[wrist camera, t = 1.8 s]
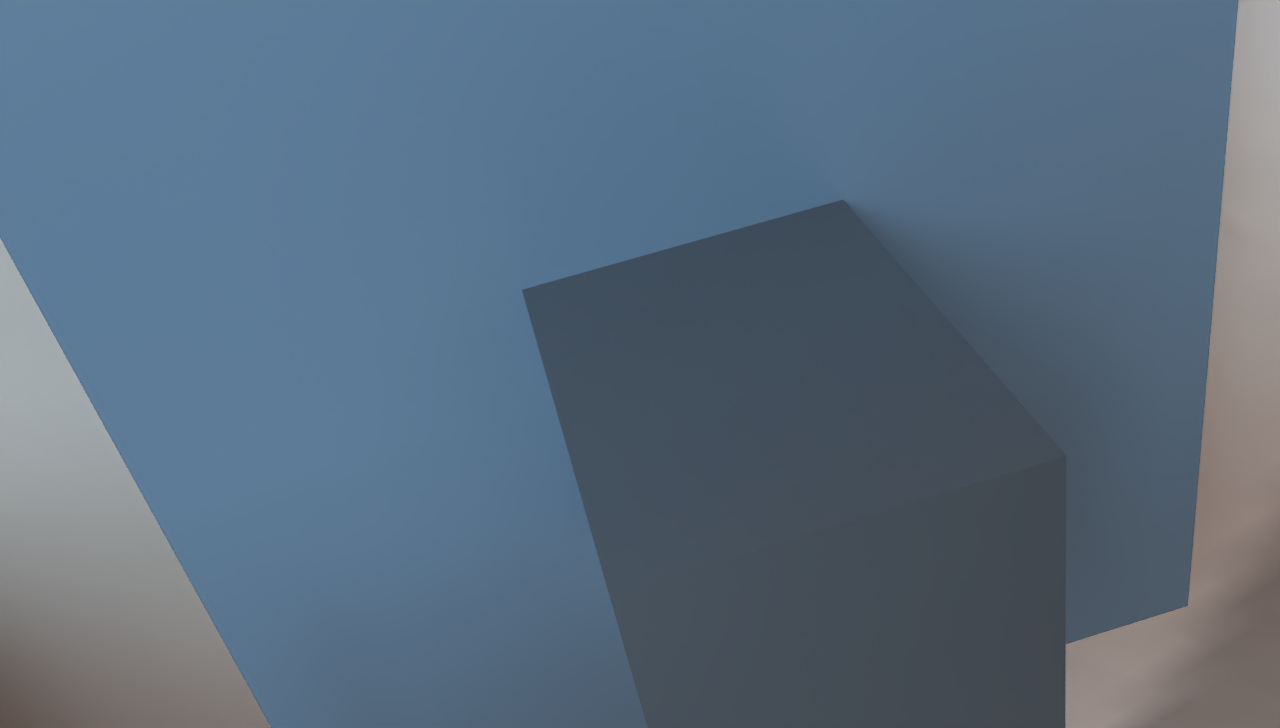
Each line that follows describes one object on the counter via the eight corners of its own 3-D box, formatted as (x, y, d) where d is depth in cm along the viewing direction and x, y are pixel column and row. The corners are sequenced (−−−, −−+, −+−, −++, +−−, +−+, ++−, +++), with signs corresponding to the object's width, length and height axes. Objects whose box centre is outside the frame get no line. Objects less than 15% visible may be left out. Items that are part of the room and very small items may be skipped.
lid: (347, 762, 16) (356, 1252, 11) (-82, -77, 10) (-461, 211, 5) (1118, 524, 16) (1432, 888, 12) (1151, -383, 10) (1804, -377, 6)
